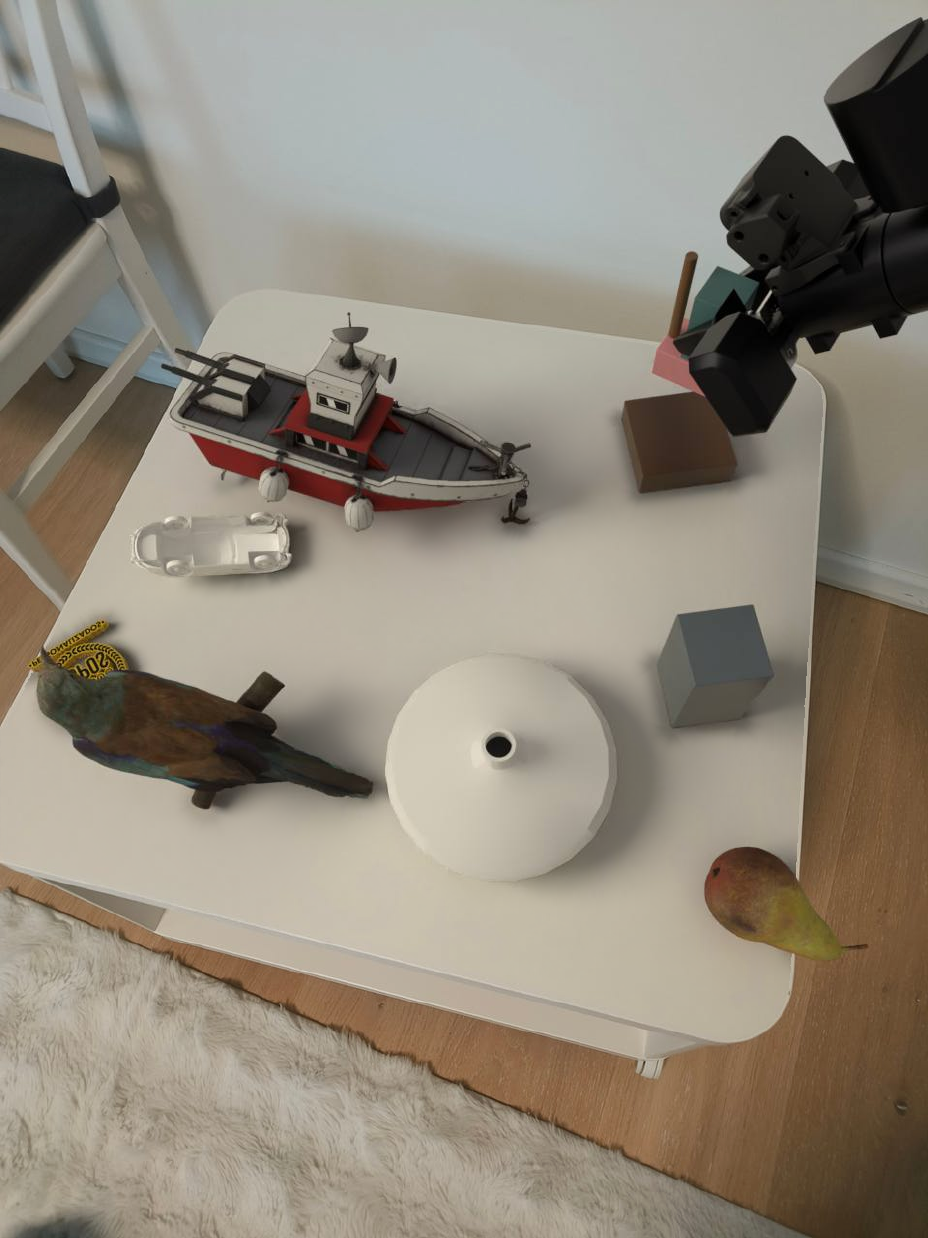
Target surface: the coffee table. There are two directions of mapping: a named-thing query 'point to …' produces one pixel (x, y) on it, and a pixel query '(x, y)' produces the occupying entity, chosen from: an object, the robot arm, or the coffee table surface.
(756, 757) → the coffee table surface
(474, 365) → the coffee table surface
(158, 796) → the coffee table surface
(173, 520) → the toy car
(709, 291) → the peg stacking toy
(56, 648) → the logo
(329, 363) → the toy boat
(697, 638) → the grey rectangular block
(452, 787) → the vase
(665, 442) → the walnut block
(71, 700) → the bird figurine
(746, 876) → the fruit
